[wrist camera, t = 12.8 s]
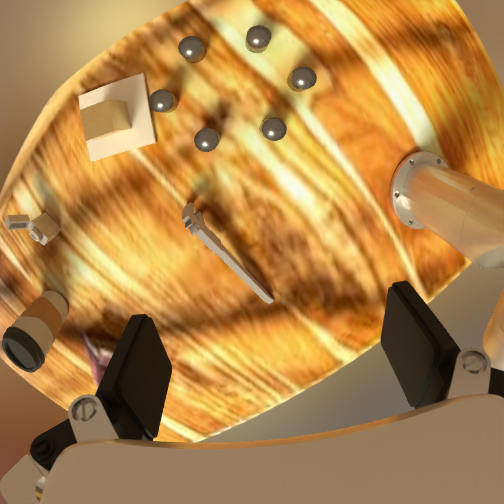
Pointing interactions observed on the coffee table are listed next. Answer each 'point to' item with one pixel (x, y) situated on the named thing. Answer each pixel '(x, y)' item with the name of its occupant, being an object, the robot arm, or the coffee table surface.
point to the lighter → (35, 226)
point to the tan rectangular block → (105, 119)
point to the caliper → (220, 249)
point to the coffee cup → (35, 331)
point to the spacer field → (255, 43)
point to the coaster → (138, 113)
